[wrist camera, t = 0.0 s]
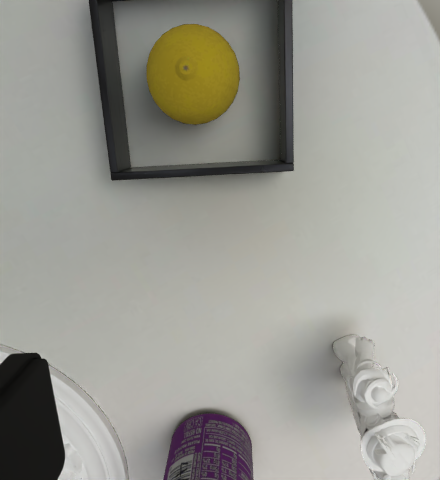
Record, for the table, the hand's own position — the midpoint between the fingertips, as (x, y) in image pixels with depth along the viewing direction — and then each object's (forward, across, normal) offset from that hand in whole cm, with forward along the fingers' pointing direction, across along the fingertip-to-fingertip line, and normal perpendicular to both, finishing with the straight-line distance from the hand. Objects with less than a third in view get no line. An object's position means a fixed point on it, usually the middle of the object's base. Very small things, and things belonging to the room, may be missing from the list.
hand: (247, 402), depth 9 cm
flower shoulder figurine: (+22, -9, +13) cm, 27 cm away
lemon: (+22, +2, -9) cm, 24 cm away
